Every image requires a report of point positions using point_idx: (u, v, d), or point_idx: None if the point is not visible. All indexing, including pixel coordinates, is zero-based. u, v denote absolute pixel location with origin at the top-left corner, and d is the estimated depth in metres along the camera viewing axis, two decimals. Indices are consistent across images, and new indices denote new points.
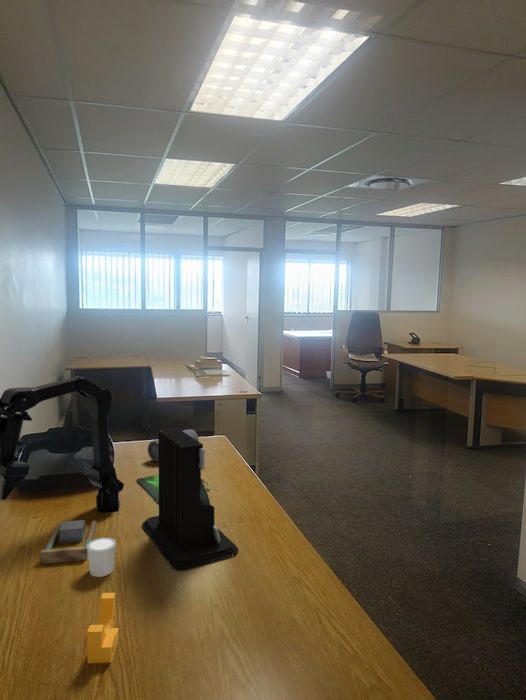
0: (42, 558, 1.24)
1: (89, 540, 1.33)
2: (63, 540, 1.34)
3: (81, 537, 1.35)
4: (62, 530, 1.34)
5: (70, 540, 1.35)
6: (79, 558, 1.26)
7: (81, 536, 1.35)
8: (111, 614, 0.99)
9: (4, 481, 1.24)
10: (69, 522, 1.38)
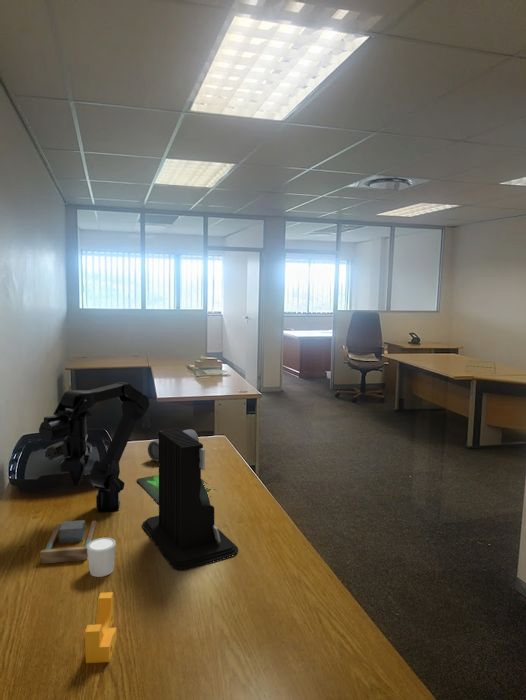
0: (42, 558, 1.24)
1: (89, 540, 1.33)
2: (63, 540, 1.34)
3: (81, 537, 1.35)
4: (62, 530, 1.34)
5: (70, 540, 1.35)
6: (79, 558, 1.26)
7: (81, 536, 1.35)
8: (109, 614, 1.00)
9: None
10: (69, 522, 1.38)
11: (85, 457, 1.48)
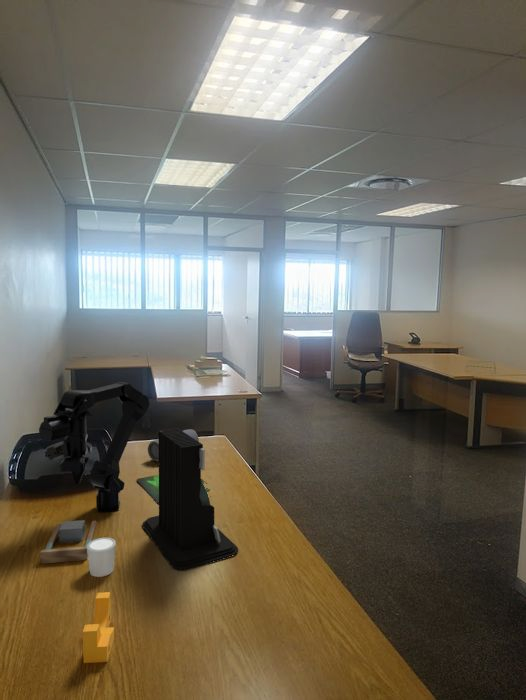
0: (42, 558, 1.24)
1: (89, 540, 1.33)
2: (63, 540, 1.34)
3: (81, 537, 1.35)
4: (62, 530, 1.34)
5: (70, 540, 1.35)
6: (79, 558, 1.26)
7: (81, 536, 1.35)
8: (106, 613, 1.00)
9: None
10: (69, 522, 1.38)
11: (84, 459, 1.46)
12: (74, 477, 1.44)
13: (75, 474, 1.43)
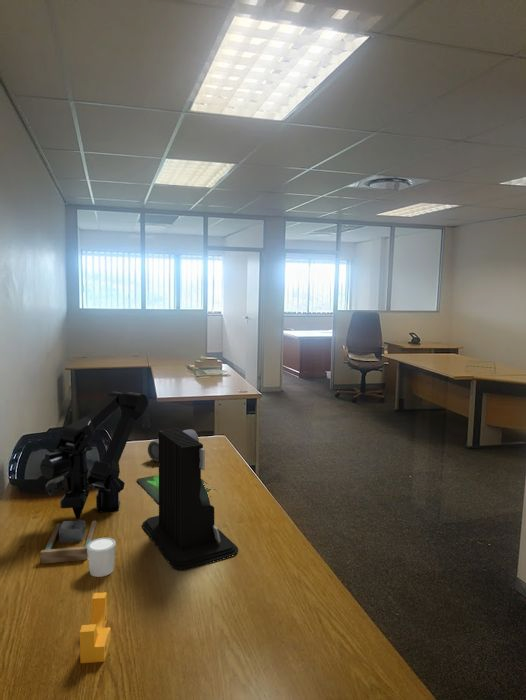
0: (42, 558, 1.24)
1: (89, 540, 1.33)
2: (63, 540, 1.34)
3: (81, 537, 1.35)
4: (62, 530, 1.34)
5: (70, 540, 1.35)
6: (79, 558, 1.26)
7: (81, 536, 1.35)
8: (103, 614, 0.99)
9: None
10: (69, 522, 1.38)
11: (85, 493, 1.47)
12: (75, 511, 1.44)
13: (76, 508, 1.44)
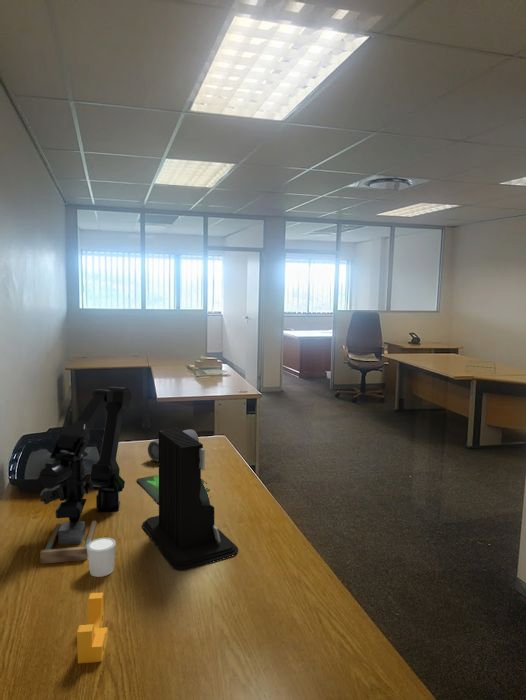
0: (42, 558, 1.24)
1: (89, 540, 1.33)
2: (62, 541, 1.33)
3: (80, 539, 1.34)
4: (61, 532, 1.33)
5: (69, 541, 1.34)
6: (79, 558, 1.26)
7: (80, 538, 1.34)
8: (99, 614, 0.99)
9: None
10: (69, 523, 1.37)
11: (81, 501, 1.41)
12: (71, 520, 1.38)
13: (72, 517, 1.38)
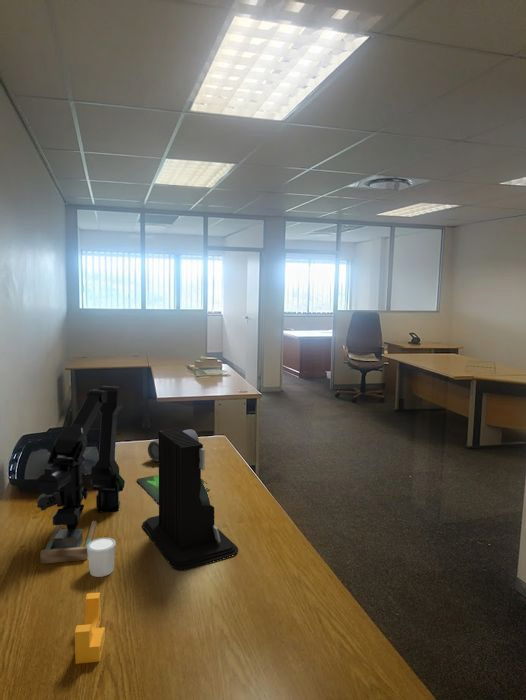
0: (42, 558, 1.24)
1: (89, 540, 1.33)
2: None
3: None
4: (57, 539, 1.29)
5: None
6: (79, 558, 1.26)
7: (76, 546, 1.30)
8: (97, 614, 0.99)
9: None
10: (66, 530, 1.33)
11: (79, 507, 1.37)
12: (68, 527, 1.35)
13: (69, 524, 1.34)
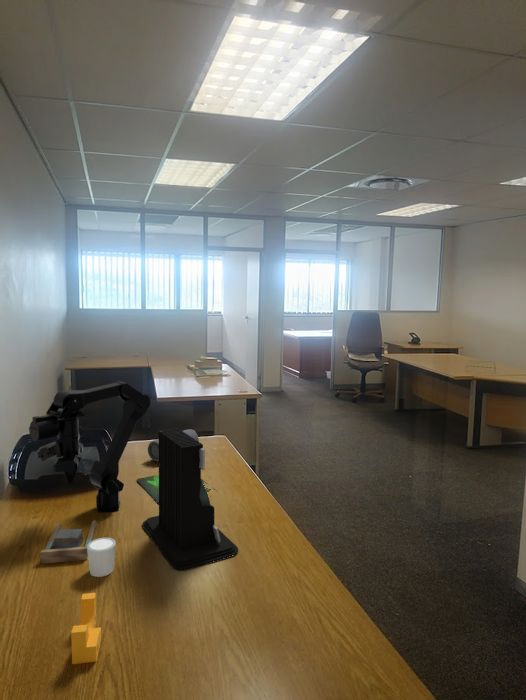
0: (42, 558, 1.24)
1: (89, 540, 1.33)
2: None
3: None
4: (57, 539, 1.29)
5: None
6: (79, 558, 1.26)
7: (75, 546, 1.30)
8: (92, 614, 0.99)
9: None
10: (66, 530, 1.33)
11: (76, 459, 1.47)
12: (67, 477, 1.44)
13: (68, 474, 1.44)
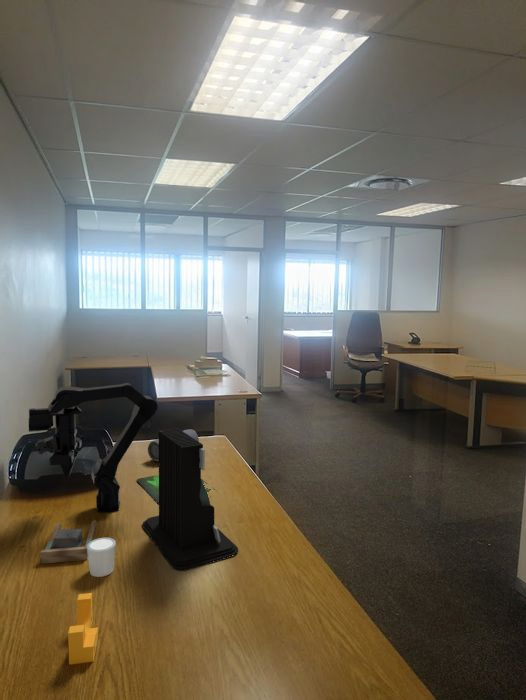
0: (42, 558, 1.24)
1: (89, 540, 1.33)
2: None
3: None
4: (56, 539, 1.29)
5: None
6: (79, 558, 1.26)
7: (75, 546, 1.30)
8: (89, 614, 0.99)
9: None
10: (66, 530, 1.33)
11: (73, 453, 1.51)
12: (64, 471, 1.49)
13: (65, 468, 1.48)
